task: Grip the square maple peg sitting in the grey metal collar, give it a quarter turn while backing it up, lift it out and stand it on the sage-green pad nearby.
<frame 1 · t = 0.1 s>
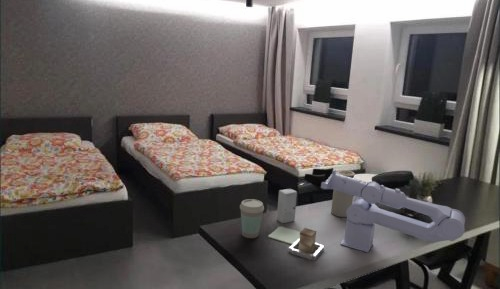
hand: (308, 173, 137), 22 cm above the table, tool horizontal, fingers open, 7 cm apart
metal collar: (306, 250, 125), on the table
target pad: (286, 235, 135), on the table
travel mug: (340, 214, 158), on the table
maple peg: (306, 251, 125), resting in metal collar
coffee cup: (250, 235, 135), on the table
skincare box: (285, 220, 148), on the table
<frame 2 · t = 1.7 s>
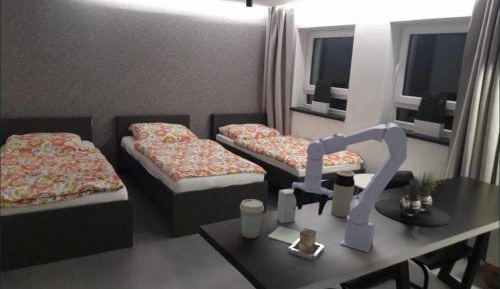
hand: (309, 211, 134), 9 cm above the table, tool pointing down, fingers open, 7 cm apart
nothing on the table moved.
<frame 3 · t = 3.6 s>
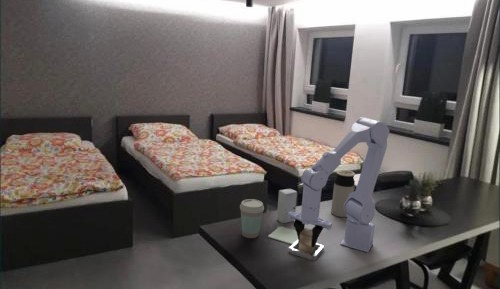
hand: (307, 243, 125), 3 cm above the table, tool pointing down, fingers closed on maple peg, 4 cm apart
maple peg: (306, 250, 125), resting in metal collar, touching gripper
everything else where it was.
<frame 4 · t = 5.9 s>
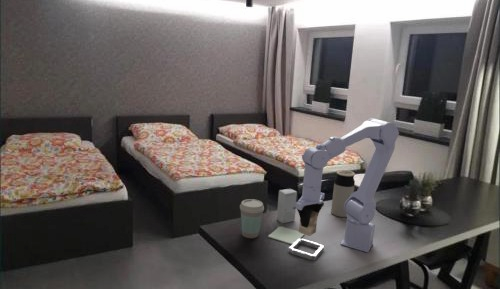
hand: (308, 224, 124), 9 cm above the table, tool pointing down, fingers closed on maple peg, 4 cm apart
maple peg: (307, 232, 124), point 7 cm above the table, touching gripper
everything else where it was.
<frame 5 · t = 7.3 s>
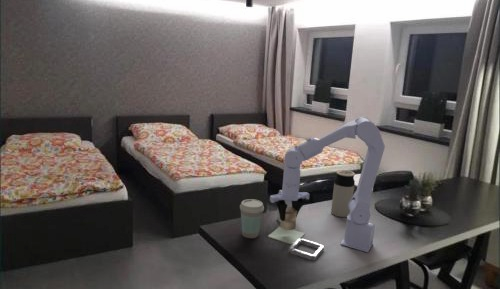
hand: (287, 219, 134), 6 cm above the table, tool pointing down, fingers closed on maple peg, 4 cm apart
maple peg: (287, 227, 134), point 3 cm above the table, touching gripper
everything else where it was.
when the fingers open (4 cm above the table, at t = 8.2 s): maple peg stays where it is, resting on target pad.
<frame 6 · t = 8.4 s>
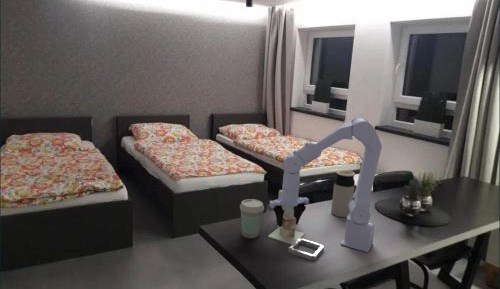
hand: (287, 224, 134), 4 cm above the table, tool pointing down, fingers open, 6 cm apart
maple peg: (286, 234, 135), resting on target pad
everything else where it was.
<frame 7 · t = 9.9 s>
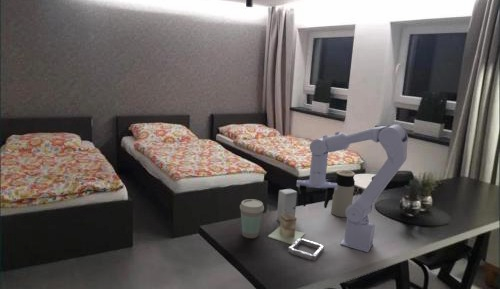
hand: (314, 206, 139), 9 cm above the table, tool pointing down, fingers open, 7 cm apart
nothing on the table moved.
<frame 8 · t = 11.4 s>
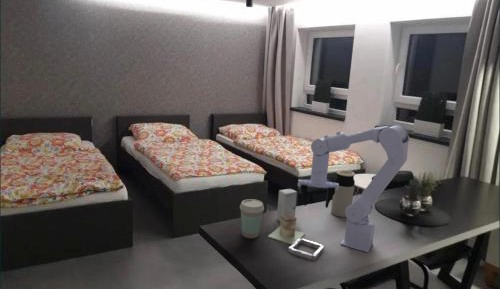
hand: (315, 205, 140), 9 cm above the table, tool pointing down, fingers open, 7 cm apart
nothing on the table moved.
at the end: maple peg inside the target area on the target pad (0.1 cm from its centre), point 0.4 cm above the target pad's base; maple peg tilted 0°; the gripper is holding nothing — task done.
